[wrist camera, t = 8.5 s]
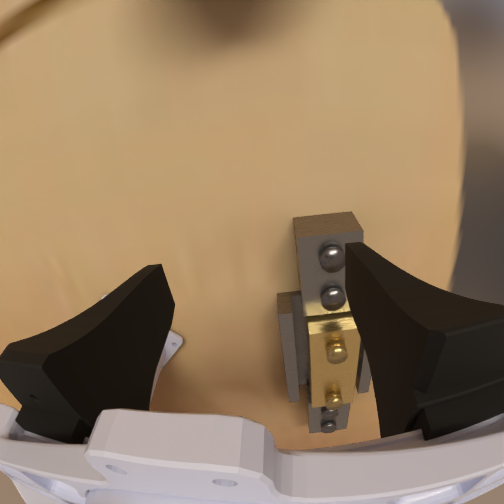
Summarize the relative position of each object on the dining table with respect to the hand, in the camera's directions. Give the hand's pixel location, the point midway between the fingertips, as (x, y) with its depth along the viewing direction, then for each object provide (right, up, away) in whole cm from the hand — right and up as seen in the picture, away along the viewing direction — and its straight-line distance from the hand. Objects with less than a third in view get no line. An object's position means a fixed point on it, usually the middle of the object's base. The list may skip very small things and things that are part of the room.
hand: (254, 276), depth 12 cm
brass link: (+6, -6, +13) cm, 16 cm away
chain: (+6, -7, +14) cm, 17 cm away
